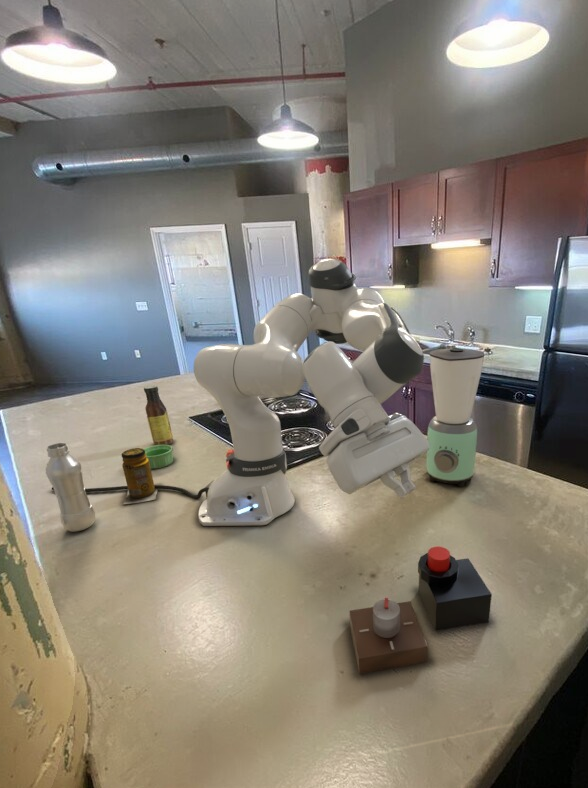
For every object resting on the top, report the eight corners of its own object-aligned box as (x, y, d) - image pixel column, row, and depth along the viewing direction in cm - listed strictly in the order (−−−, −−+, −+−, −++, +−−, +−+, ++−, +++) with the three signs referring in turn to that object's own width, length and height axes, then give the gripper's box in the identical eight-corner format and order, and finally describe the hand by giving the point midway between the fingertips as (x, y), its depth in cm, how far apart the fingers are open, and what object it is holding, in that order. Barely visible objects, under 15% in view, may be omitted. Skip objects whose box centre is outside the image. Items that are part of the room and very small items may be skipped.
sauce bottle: (177, 442, 142) (166, 385, 135) (160, 448, 137) (148, 390, 130) (166, 438, 146) (154, 383, 139) (149, 444, 141) (136, 387, 134)
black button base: (430, 632, 65) (432, 594, 63) (413, 589, 74) (414, 554, 72) (488, 622, 67) (492, 584, 64) (464, 581, 76) (467, 547, 73)
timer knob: (400, 638, 60) (400, 618, 59) (372, 637, 61) (372, 617, 59) (399, 617, 64) (399, 597, 63) (373, 616, 64) (373, 597, 63)
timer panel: (359, 674, 59) (358, 657, 57) (349, 624, 67) (349, 609, 66) (427, 661, 60) (427, 645, 59) (409, 615, 69) (410, 600, 67)
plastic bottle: (62, 538, 91) (34, 454, 84) (66, 523, 96) (41, 443, 89) (96, 530, 93) (72, 448, 86) (99, 516, 99) (76, 438, 92)
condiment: (158, 485, 113) (149, 444, 109) (155, 500, 106) (145, 457, 101) (128, 490, 111) (118, 448, 107) (123, 505, 103) (111, 461, 99)
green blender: (469, 494, 105) (480, 356, 93) (418, 486, 110) (421, 353, 97) (479, 464, 122) (489, 343, 109) (434, 458, 126) (439, 341, 114)
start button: (431, 574, 67) (432, 561, 66) (424, 560, 71) (425, 547, 70) (452, 571, 68) (453, 558, 67) (444, 557, 71) (445, 545, 70)
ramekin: (135, 467, 124) (132, 453, 123) (160, 455, 132) (157, 442, 130) (158, 471, 121) (155, 458, 119) (181, 459, 129) (179, 446, 127)
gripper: (391, 419, 80) (432, 479, 78) (310, 451, 66) (356, 526, 64) (410, 401, 76) (454, 464, 73) (328, 432, 62) (378, 511, 59)
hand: (408, 493), depth 68 cm, fingers closed
